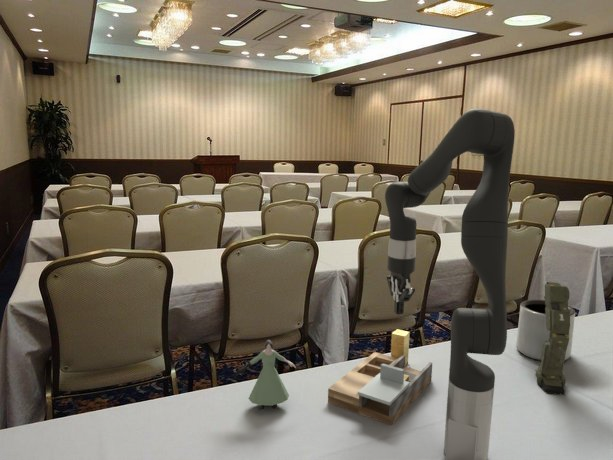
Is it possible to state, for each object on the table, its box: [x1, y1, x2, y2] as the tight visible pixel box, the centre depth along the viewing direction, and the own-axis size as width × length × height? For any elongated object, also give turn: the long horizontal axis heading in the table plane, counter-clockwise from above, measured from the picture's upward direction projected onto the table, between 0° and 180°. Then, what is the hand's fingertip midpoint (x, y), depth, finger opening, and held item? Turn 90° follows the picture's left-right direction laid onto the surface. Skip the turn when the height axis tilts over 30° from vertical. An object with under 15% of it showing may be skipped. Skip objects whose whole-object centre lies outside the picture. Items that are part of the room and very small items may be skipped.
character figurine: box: [234, 339, 297, 411], centre depth 126 cm, size 16×8×18 cm, turn 100°
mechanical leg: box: [534, 281, 570, 396], centre depth 139 cm, size 14×7×30 cm, turn 168°
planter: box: [515, 299, 576, 362], centre depth 160 cm, size 16×16×16 cm
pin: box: [390, 328, 411, 366], centre depth 152 cm, size 4×4×10 cm
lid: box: [358, 364, 410, 405], centre depth 125 cm, size 12×9×4 cm
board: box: [327, 351, 433, 426], centre depth 135 cm, size 27×18×6 cm, turn 146°
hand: (398, 313), depth 141 cm, fingers closed
